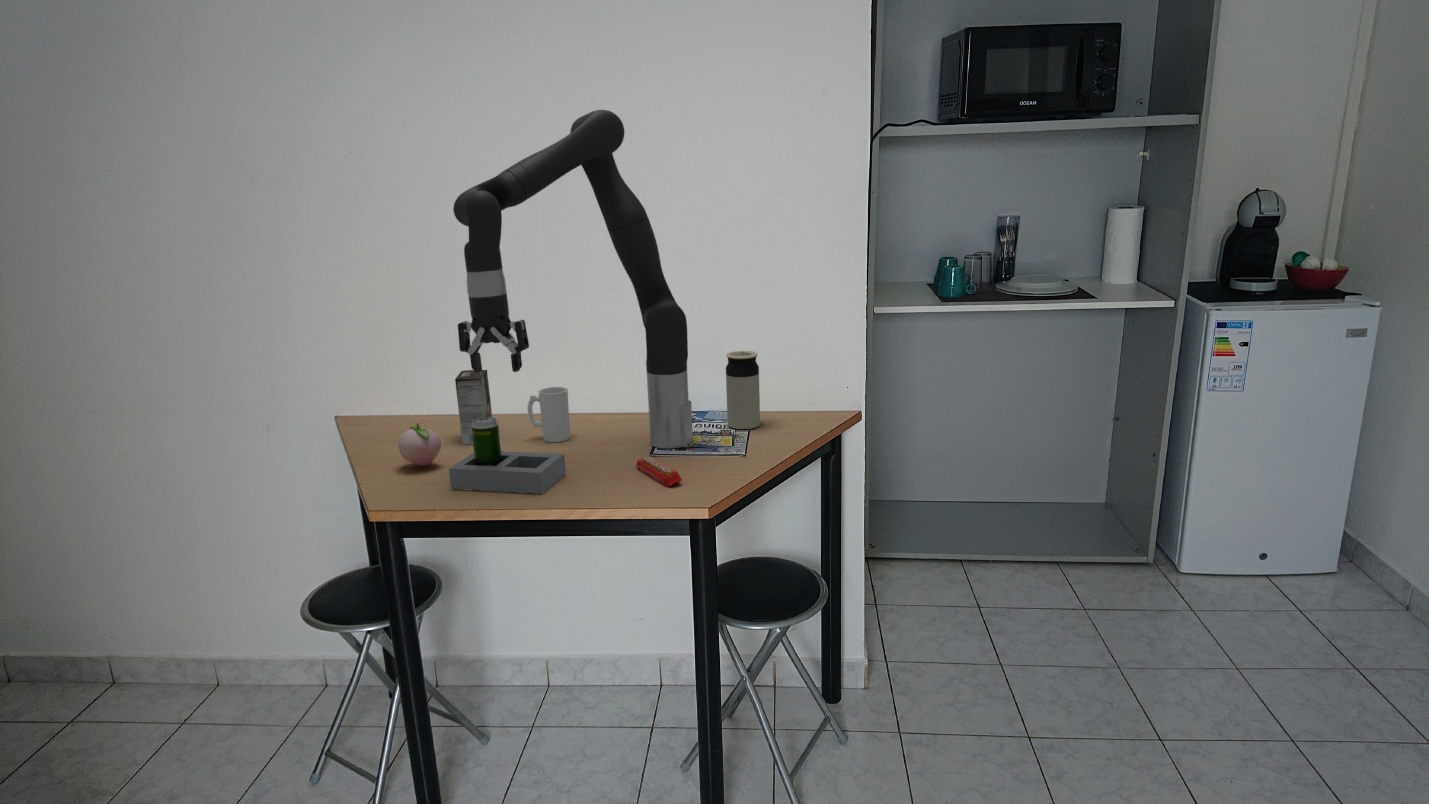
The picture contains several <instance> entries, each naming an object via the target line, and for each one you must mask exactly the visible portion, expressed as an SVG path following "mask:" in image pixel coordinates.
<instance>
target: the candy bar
mask: <svg viewBox="0 0 1429 804" xmlns="http://www.w3.org/2000/svg"><path fill="white" fill-rule="evenodd" d="M635 465H636V466H637V468H638V470H639V471H641V473H643V474H646V475H647V476H649V477H650V478H652V479H653V478H654V480H655V481H656V482H658V481H659V482H658V483H660V482H661V483H662V484H661V483H660V484H661V485H663V484H664V485H663V486H665V485H667V486H670V487H672V486H671V485H673V486H674V485H676V484H678V483H680V482H682V478H681V476H680V473H679V472H678V471H677V470H675V469H673V468H672V467H670V466H668V465H666V464H664V463H663V462H661V461H660V460H658V459H656V458H654V457H652V456H651V455H646V456H643V457H641V458H639V459H637V461H636V464H635ZM667 486H666V487H667Z"/></svg>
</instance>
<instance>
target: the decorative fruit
mask: <svg viewBox="0 0 1429 804" xmlns="http://www.w3.org/2000/svg"><path fill="white" fill-rule="evenodd" d="M438 435H439V434H437V433H436V432H435V431H433V430H431V429H428V428H425V427H422V426H421V425H419V423H418V422H417V423H416V425H410V426H409V429H408V430H406V431H404V432H403V433H402V434H401V436H400V437H399V440H398V443H397V446H398V451H399V453H400V455H401V457H402V458H403V459H404V460H405V461H407V462H409V463H412V464H415V465H417V466H418V465H419V466H420V467H422V468H424V467H426V466H427V465H429V464H431V463H432V462H433V461H434V460H435V459H436V458H437V457H438V456H439V454H440V451H441V447H442V440H441V438H440V436H438Z"/></svg>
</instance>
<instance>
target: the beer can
mask: <svg viewBox="0 0 1429 804" xmlns="http://www.w3.org/2000/svg"><path fill="white" fill-rule="evenodd" d="M497 420H498V419H497V418H496V417H493V416H492V417H484V418H478V419H475V420H473V421H472V426H471V428H472V438H473V444H472V446H473V453H474V456H475V465H477V466H496V465H498V464H499V463H501V462H502V457H501V451H502V449H501V441H500V428H499V422H498V421H497Z"/></svg>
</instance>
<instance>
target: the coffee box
mask: <svg viewBox="0 0 1429 804" xmlns="http://www.w3.org/2000/svg"><path fill="white" fill-rule="evenodd" d="M454 381H455V382H454V383H455V389H456V392H455V393H456V400H457V409H458V417H459V425H460V426H459V427H460V434H461V436H460V437H461V442H462V443H461V444H462V445H473V438H472V428H471V426H472V421H473V420H475V419H478V418H484V417H493V411H492V403H491V395H490V385H489V377H488V369H482V371H480V372H474V370H473V369H469V370H461V371H460V372H459V374H458V375H457V376H456V378H455V379H454Z"/></svg>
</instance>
